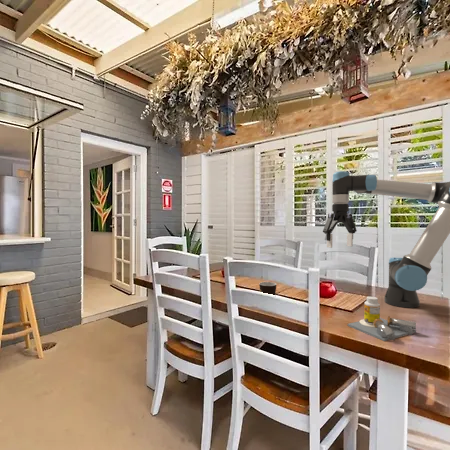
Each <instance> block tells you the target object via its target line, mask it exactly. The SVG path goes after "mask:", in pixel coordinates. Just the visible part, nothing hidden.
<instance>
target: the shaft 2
mask: <svg viewBox="0 0 450 450" xmlns="http://www.w3.org/2000/svg"><path fill="white" fill-rule="evenodd" d="M387 320H388V326H390V325H394V326H399V327H400V331H404V332H408V335H409V336H413V333H412V331H413V329H414V330H417V328H416V327H417V322H416V321H409V320H404V319H398V318H394V317H393V318H392V317H391V316H390V315H389V316H388V317H387ZM408 335H407V336H408Z"/></svg>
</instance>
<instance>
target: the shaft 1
mask: <svg viewBox="0 0 450 450" xmlns="http://www.w3.org/2000/svg"><path fill="white" fill-rule="evenodd" d="M373 325H374V326H375V327H376V328H377V334H378V335H379V336H381V337H382V338H389V340H388V341H395V340H396V338H395V332H394V331H393V330H392V329H391V328H389V327H388V326H386V325H385V324H384V322H383V321H382V320H381V319H375V320H374V322H373Z"/></svg>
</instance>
